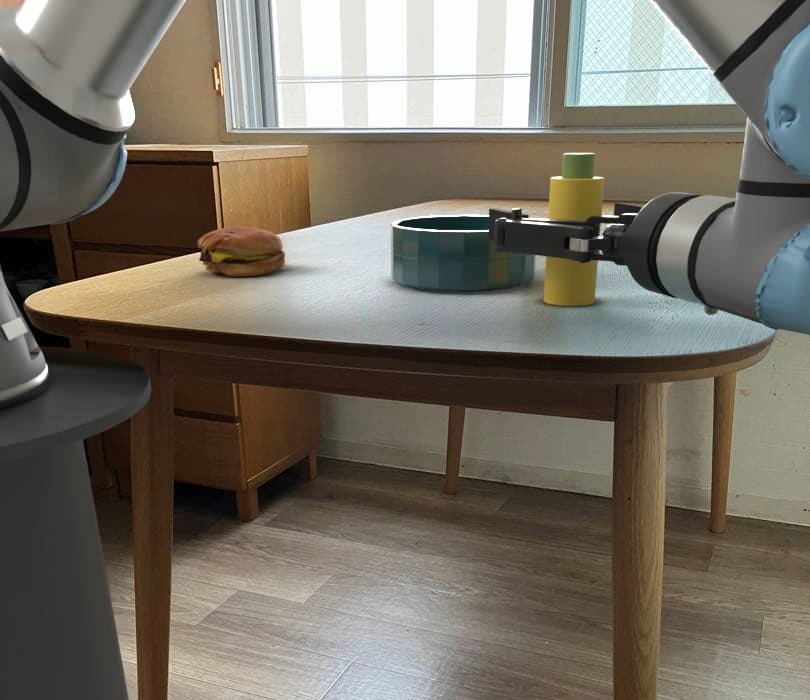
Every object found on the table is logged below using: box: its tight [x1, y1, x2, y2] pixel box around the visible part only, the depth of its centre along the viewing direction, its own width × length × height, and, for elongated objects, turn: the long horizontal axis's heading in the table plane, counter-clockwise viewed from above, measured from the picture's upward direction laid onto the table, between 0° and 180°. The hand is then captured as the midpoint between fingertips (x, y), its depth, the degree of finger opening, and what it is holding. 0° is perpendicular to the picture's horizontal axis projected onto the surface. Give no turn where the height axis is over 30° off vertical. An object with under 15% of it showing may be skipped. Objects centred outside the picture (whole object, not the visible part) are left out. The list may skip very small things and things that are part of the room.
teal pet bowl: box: [390, 214, 537, 294], centre depth 94 cm, size 15×15×6 cm
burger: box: [196, 226, 286, 278], centre depth 102 cm, size 10×9×5 cm
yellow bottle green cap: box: [543, 152, 605, 307], centre depth 82 cm, size 5×5×13 cm
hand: (555, 220), depth 84 cm, fingers open, 13 cm apart
